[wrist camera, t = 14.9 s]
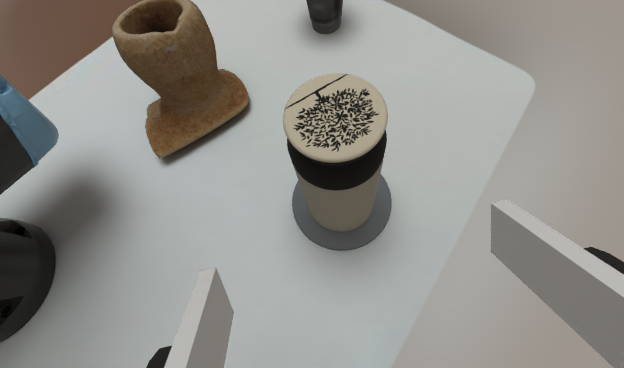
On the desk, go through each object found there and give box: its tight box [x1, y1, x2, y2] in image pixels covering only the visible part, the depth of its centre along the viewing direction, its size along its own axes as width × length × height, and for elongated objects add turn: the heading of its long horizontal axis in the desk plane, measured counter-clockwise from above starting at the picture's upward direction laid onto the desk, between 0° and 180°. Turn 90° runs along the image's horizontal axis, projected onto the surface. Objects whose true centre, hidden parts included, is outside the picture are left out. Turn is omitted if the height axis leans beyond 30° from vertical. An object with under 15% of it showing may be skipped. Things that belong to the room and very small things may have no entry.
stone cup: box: [112, 0, 249, 158], centre depth 41 cm, size 15×12×15 cm
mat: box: [292, 174, 391, 250], centre depth 40 cm, size 12×12×1 cm
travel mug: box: [283, 74, 388, 232], centre depth 31 cm, size 8×8×18 cm
